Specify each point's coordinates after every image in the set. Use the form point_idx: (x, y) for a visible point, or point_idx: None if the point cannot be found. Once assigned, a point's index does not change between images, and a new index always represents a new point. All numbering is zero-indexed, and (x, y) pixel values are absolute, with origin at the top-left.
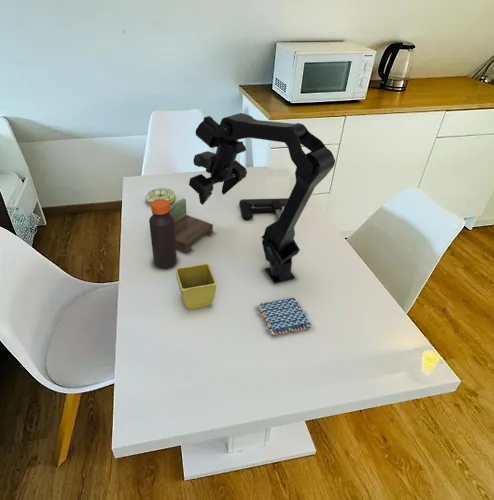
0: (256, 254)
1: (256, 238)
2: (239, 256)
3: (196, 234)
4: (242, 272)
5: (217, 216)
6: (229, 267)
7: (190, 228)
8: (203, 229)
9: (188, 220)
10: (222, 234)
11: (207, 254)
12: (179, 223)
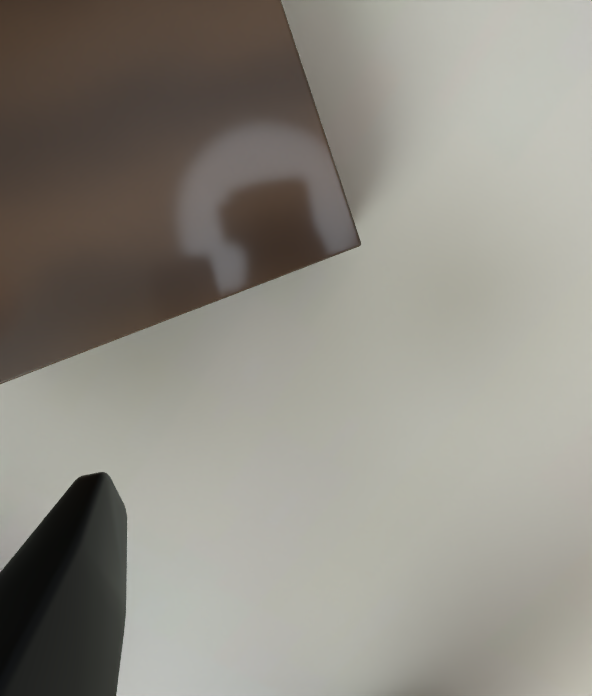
0: (421, 594)
1: (551, 466)
2: (322, 561)
3: (134, 308)
4: (239, 677)
5: (557, 10)
6: (202, 613)
7: (135, 180)
8: (236, 270)
9: (195, 19)
10: (397, 293)
11: (153, 443)
12: (75, 16)
